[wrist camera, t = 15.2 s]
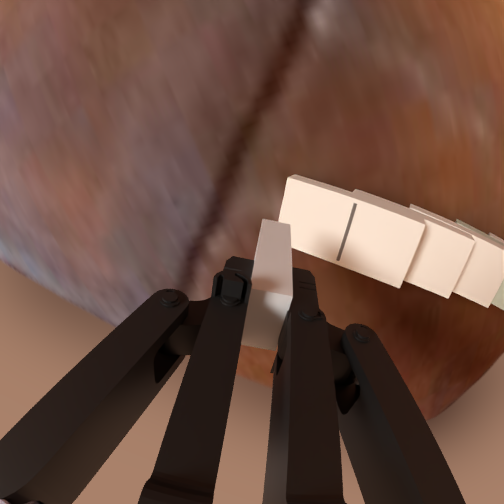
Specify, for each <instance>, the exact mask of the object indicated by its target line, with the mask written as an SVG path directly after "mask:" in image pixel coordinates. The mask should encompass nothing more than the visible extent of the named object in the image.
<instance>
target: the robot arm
mask: <svg viewBox="0 0 504 504" xmlns="http://www.w3.org/2000/svg"><path fill="white" fill-rule="evenodd" d="M315 285H316V284H315V277H314V276H313V275H312V273H311V272H310V271H308V270H303V269H298V268H293V267H292V252H291V228H290V224H286V223H281V222H276V221H272V220H267V219H263V220H262V224H261V229H260V234H259V239H258V244H257V249H256V254H255V259H254V260H249V259H244V258H239V257H234V256H233V257H231V258H230V259H228V260H227V261H226V264H225V267H224V269H223V271H221V272H219V273H217V274H216V275H215V276H214V279H213V287H212V295H211V298H209V299H206V300H202V301H189V300H188V297H187V296H186V295H185V294H184V293H183V292H181V291H179V290H175V289H163V290H159V291H157V292H156V293H154V294H153V295H152V296H151V297H150V298H148V299H147V300H146V301H145V302H144V303H143V304H142V305H141V306H140V307H138V308H137V309H136V310H135V311H134V312H133V313H132V314H131V315H130V316H129V317H127V318H126V319H125V320H124V321H123V322H122V323H121V324H120V325H119V326H118V327H116V328H115V329H114V330H113V331H112V332H111V333H110V334H109V335H108V336H107V337H106V338H105V339H103V340H102V341H101V342H100V343H99V344H98V345H97V346H96V347H95V348H94V349H93V350H92V351H91V352H89V354H87V355H86V356H85V357H84V358H83V359H82V360H81V361H80V362H79V363H78V364H77V365H76V366H75V367H74V368H73V369H72V370H70V372H68V374H66V375H65V376H64V377H63V378H62V379H61V380H60V381H59V382H58V383H57V384H56V385H55V386H54V387H53V388H52V389H51V390H50V391H49V392H48V393H47V394H46V395H45V396H44V397H43V398H42V399H41V400H40V401H39V402H38V403H37V404H36V405H35V406H34V407H32V409H30V410H29V411H28V413H26V414H25V416H24V417H23V418H22V419H21V420H20V421H19V422H18V423H17V424H16V425H15V426H14V427H13V428H12V429H11V430H10V431H9V432H8V433H7V434H6V435H5V436H4V437H3V438H2V439H1V440H0V504H72V503H73V502H74V501H75V500H76V498H77V497H78V496H79V495H80V493H81V492H82V491H83V489H84V488H85V487H86V486H87V484H88V483H89V482H90V481H91V479H92V478H93V477H94V475H95V474H96V473H97V472H98V470H99V469H100V468H101V466H102V465H103V464H104V462H105V461H106V460H107V459H108V458H109V456H110V455H111V454H112V452H113V451H114V450H115V448H116V447H117V446H118V445H119V443H120V442H121V441H122V439H123V438H124V437H125V435H126V434H127V433H128V432H129V430H130V429H131V428H132V426H133V425H134V424H135V423H136V421H137V420H138V419H139V417H140V416H141V415H142V413H143V412H144V411H145V409H146V408H147V407H148V405H149V404H150V403H151V402H152V400H153V399H154V398H155V396H156V395H157V394H158V392H159V391H160V390H161V388H162V387H163V386H164V385H165V383H166V382H167V381H168V379H169V378H170V377H171V375H172V374H173V373H174V371H175V370H176V369H177V367H178V366H179V365H180V363H181V362H182V361H183V359H184V358H185V355H191V356H190V359H189V362H188V365H187V368H186V371H185V374H184V377H183V380H182V383H181V386H180V389H179V392H178V395H177V398H176V402H175V404H174V407H173V410H172V413H171V416H170V420H169V423H168V426H167V429H166V432H165V435H164V438H163V441H162V445H161V448H160V451H159V454H158V457H157V461H156V464H155V467H154V470H153V473H152V475H151V477H150V479H149V480H148V481H146V483H145V485H144V487H143V490H142V492H141V495H140V498H139V501H138V504H212V503H213V496H214V489H215V483H216V478H217V473H218V467H219V462H220V456H221V451H222V445H223V440H224V435H225V429H226V423H227V418H228V413H229V407H230V401H231V396H232V391H233V385H234V379H235V374H236V369H237V363H238V358H239V352H240V346H241V345H246V346H252V347H257V348H262V349H268V350H274V351H276V348H277V345H278V352H277V355H276V358H275V361H274V363H273V366H272V369H271V372H270V373H273V372H274V376H273V390H272V403H271V417H270V429H269V440H268V453H267V463H266V473H265V483H264V493H263V503H262V504H346V503H345V501H344V498H343V483H342V467H341V466H342V465H341V449H340V436H339V430H340V433H341V436H342V439H343V441H344V444H345V447H346V450H347V453H348V455H349V458H350V461H351V464H352V467H353V469H354V473H355V475H356V478H357V481H358V484H359V487H360V490H361V493H362V496H363V499H364V502H365V504H466V503H465V501H464V499H463V497H462V494H461V492H460V490H459V488H458V485H457V483H456V481H455V479H454V477H453V475H452V473H451V470H450V468H449V466H448V465H447V462H446V460H445V458H444V456H443V454H442V452H441V450H440V448H439V446H438V444H437V442H436V440H435V438H434V436H433V434H432V432H431V430H430V428H429V426H428V424H427V423H426V421H425V419H424V417H423V415H422V413H421V411H420V409H419V407H418V406H417V404H416V402H415V400H414V398H413V396H412V395H411V393H410V391H409V389H408V387H407V386H406V384H405V382H404V380H403V379H402V377H401V375H400V373H399V372H398V370H397V368H396V366H395V365H394V363H393V361H392V359H391V358H390V356H389V354H388V353H387V351H386V349H385V348H384V346H383V344H382V343H381V341H380V339H379V338H378V336H377V334H376V333H375V332H374V331H373V330H372V329H370V328H369V327H367V326H365V325H362V324H356V323H355V324H350V325H349V326H347V327H346V329H345V330H343V329H340V328H338V327H335V326H333V325H331V324H329V323H328V322H326V317H325V315H324V313H323V312H322V311H321V310H320V309H319V305H318V298H317V291H316V286H315Z"/></svg>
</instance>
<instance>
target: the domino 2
mask: <svg viewBox="0 0 504 504" xmlns="http://www.w3.org/2000/svg"><path fill="white" fill-rule="evenodd" d="M353 193H356V194H359V195H362V196H364V197H367V198H370V199H373V200H376V201H379V202H381V203H384V204H387V205H390V206H392V207H395V208H398V209H400V210H403V211H406V212H408V213H411V214H413V215H416V216H418V217H421V218H423V219H424V221H425V224H426V225H425V228H424V231H423V233H422V236H421V239H420V241H419V244H418V246H417V249H416V251H415V254H414V256H413V259H412V261H411V263H410V266H409V268H408V270H407V273H406V275H405V277H404V281H406V282H409V283H411V284H414V285H416V286H418V287H421V288H423V289H426V290H428V291H431V292H433V293H436V294H438V295H440V296H443V297H445V298H449V296H450V294H451V292H452V290H453V288H454V287H455V285H456V283H457V280H458V278H459V276H460V274H461V272H462V270H463V268H464V266H465V264H466V261H467V259H468V257H469V255H470V252H471V250H472V248H473V245H474V243H475V240H474V238H473V237H472V235H471V234H469V233H467V232H464V231H462V230H460V229H458V228H456V227H453V226H451V225H449V224H446V223H444V222H442V221H439V220H437V219H434V218H432V217H430V216H427V215H425V214H422V213H420V212H417V211H415V210H412V209H410V208H407V207H405V206H402V205H399V204H397V203H394V202H391V201H389V200H386V199H383V198H380V197H378V196H375V195H372V194H369V193H366V192H364V191H361V190H358V189H355V190H354V191H353Z"/></svg>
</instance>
